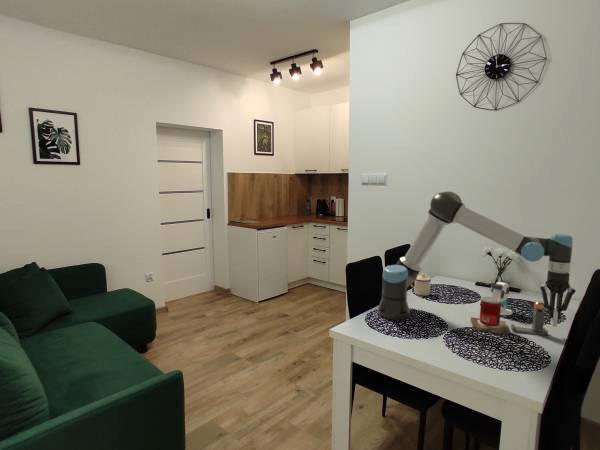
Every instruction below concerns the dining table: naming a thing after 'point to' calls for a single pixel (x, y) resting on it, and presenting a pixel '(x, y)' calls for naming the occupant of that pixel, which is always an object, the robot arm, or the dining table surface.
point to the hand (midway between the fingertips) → (553, 325)
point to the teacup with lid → (422, 285)
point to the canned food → (490, 311)
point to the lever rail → (528, 330)
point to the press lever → (538, 317)
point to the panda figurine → (502, 295)
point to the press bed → (489, 327)
